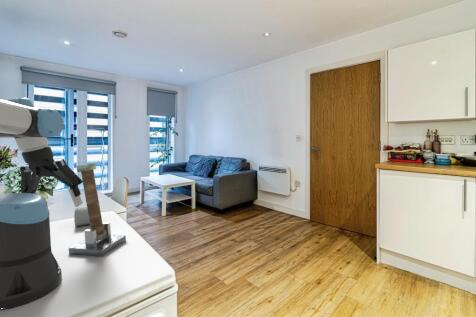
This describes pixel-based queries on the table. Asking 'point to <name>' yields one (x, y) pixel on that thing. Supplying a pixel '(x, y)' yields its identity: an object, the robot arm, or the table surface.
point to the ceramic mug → (81, 216)
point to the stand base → (97, 243)
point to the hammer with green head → (92, 199)
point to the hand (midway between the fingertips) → (60, 207)
